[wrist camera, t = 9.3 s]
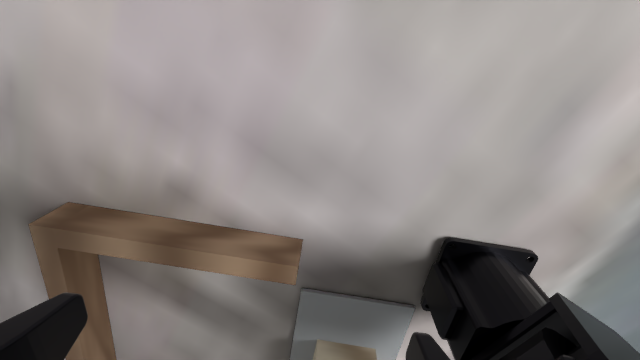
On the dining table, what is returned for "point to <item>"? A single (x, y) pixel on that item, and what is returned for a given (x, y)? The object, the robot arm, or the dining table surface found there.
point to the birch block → (342, 351)
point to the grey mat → (349, 323)
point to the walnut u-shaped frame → (144, 257)
